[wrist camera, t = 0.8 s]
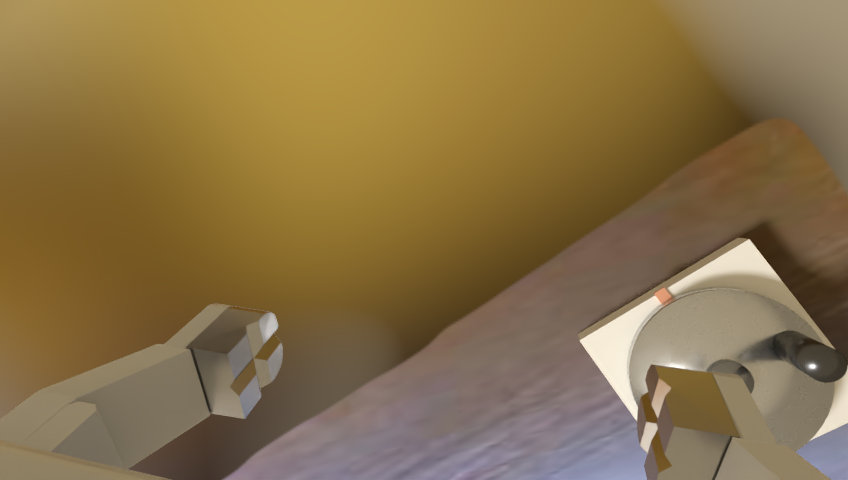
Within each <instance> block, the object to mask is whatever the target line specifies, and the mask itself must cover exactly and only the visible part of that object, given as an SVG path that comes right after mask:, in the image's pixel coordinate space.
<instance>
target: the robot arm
mask: <svg viewBox="0 0 848 480" xmlns="http://www.w3.org/2000/svg"><path fill="white" fill-rule="evenodd" d="M277 328H278V324H277V320H276V316H275V315H274V314H273V313H271V312H267V311H261V310H254V309H249V308H243V307H236V306H228V305H222V304H212V305H208V306H207V307H206V308H205V309H204V310H203V311H202V312H200V313H199V314H198V315H197V316H196V317H195V318H194V319H193V320H191V321H190V322H189V323H188V324H187V325H186V326H184V328H182V329H181V330H180V331H179V332H178V333H177V334H175V335H174V336H173V337H172V338H171V339H170V340H169V341H167V342H166V343H165V344H164V345H162V344H156V345H154V346H151V347H149V348H146V349H144V350H141V351H139V352H136V353H133V354H131V355H128V356H126V357H123V358H121V359H118V360H115V361H113V362H110V363H108V364H105V365H103V366H100V367H98V368H95V369H93V370H90V371H87V372H85V373H82V374H80V375H77V376H75V377H72V378H70V379H67V380H64V381H62V382H59V383H57V384H54V385H52V386H49V387H47V388H44V389H41V390H39V391H37V392H36V393H35V394H33V395H32V396H31V397H29V398H28V399H27V400H25V401H24V402H23V403H21V404H20V405H19V406H18V407H16V408H15V409H13V410H12V411H11V412H9V413H8V414H7V415H6V416H4V417H3V418H2V419H0V480H171V479H166V478H162V477H157V476H153V475H149V474H144V473H141V472H136V471H132V470H128V469H129V468H130V467H132V466H133V465H135V464H136V463H137V462H139V461H141V460H142V459H144V458H145V457H147V456H148V455H150V454H151V453H153V452H155V451H156V450H158V449H159V448H161V447H162V446H164V445H165V444H167V443H168V442H170V441H171V440H173V439H175V438H176V437H178V436H179V435H181V434H182V433H184V432H185V431H187V430H188V429H190V428H191V427H193V426H194V425H196V424H197V423H199V422H201V421H202V420H204V419H205V418H207V417H208V416H210V413H212V414H218V415H224V416H230V417H237V418H243V419H245V418H246V416H247V415H248V413H249V412H250V411H251V409H252V408H253V407H254V405H255V404H256V403H257V402H258V400H259V399H260V397H261V390H260V388H261V387H263V386H265V385H267V384H269V383H271V382H272V381H273V379H274V378H275V377H276V375H277V374H278V371H279V369H280V366H281V363H282V356H283V355H282V354H283V349H282V344H281V342H280V340H279V339H278V338H277V337H276V336H275V335H274V333H275V331H276V330H277ZM645 381H646V385H647V389H648V392H647V393H646V394H644V395H643V396H641V398H640V402H639V407H638V414H637V430H638V438H639V443H640V446H641V447H642V448H643V449H644V450H645V451H646V452H647V458H646V461H645V465H644V467H645V471H646V476H647V480H831V479H829V478H828V477H827V476H825V475H824V474H823V473H822V472H820V471H819V470H818V469H816V468H815V467H814V466H812V465H811V464H810V463H809V462H807V461H806V460H805V459H803V458H802V457H801V456H799V455H798V454H797V453H796V452H794V451H793V450H792V449H790V448H789V447H788V446H783V445H778V444H777V442H776V440H775V438H774V437H773V435H772V433H771V431H770V429H769V427H768V425H767V423H766V422H765V420H764V418H763V416H762V414H761V412H760V410H759V409H758V407H757V405H756V403H755V401H754V399H753V397H752V395H751V394H750V392H749V390H748V388H747V386H746V384H745V382H744V381H743V379H742V378H741V377H740V376H739V375H737V374H728V373H720V372H711V371H708V372H705V371H698V370H690V369H682V368H675V367H667V366H660V365H652V364H651V366H650V367H649V369H648V372H647V375H646V379H645Z"/></svg>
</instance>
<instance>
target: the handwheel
mask: <svg viewBox="0 0 848 480" xmlns="http://www.w3.org/2000/svg"><path fill="white" fill-rule="evenodd" d="M651 364H652V365H660V366H667V367H675V368H682V369H690V370H698V371H705V372H708V371H711V372H720V373H728V374H737V375H739V376H740V377H741V378H742V379H743V381H744V382H745V384H746V386H747V388H748V390H749V392H750V394H751V395H752V397H753V399H754V401H755V403H756V405H757V407H758V409H759V410H760V412H761V414H762V416H763V418H764V420H765V422H766V423H767V425H768V427H769V429H770V431H771V433H772V435H773V437H774V438H775V440H776V442H777V444H778V445H783V446H788V447H789V448H790V449H792V450H793V451H794V452H796V451H797V450H798V449H800V448H801V447H803V446H804V445H805V444H807V443H808V442H809V441H810V440H811V439H812V438H813V437H814V436H815V435H816V433H817V432H818V431H819V429H820V428H821V427H822V425H823V424H824V422H825V420H826V418H827V416H828V414H829V411H830V408H831V406H832V403H833V397H834V391H835V381H837V380H839V379H841V378H842V377H843V376H844V375H845V373H846V371H847V367H848V365H847V360H846V358H845V357H844V356H843V354H842V353H840V352H839V351H837V350H835V349H833V348H831V347H829V346H827V345H825V344H824V343H823V341H822V340H821V339H820V337H819V336H818V334H817V333H816V331H815V330H814V329H813V328H812V327H811V326H810V325H809V323H808V322H807V321H805V320H804V319H803V318H802V317H801V316H800V315H798V314H797V313H796V312H794V311H793V310H791V309H790V308H788V307H787V306H785V305H783V304H781V303H779V302H777V301H775V300H773V299H771V298H768V297H765V296H763V295H760V294H757V293H754V292H752V291H747V290H743V289H739V288H731V287H708V288H700V289H695V290H691V291H687V292H685V293H682V294H679V295H677V296H675V297H673V298H671V299H669V300H667V301H665V302H664V303H662V304H661V305H659V306H658V307H657V308H655V309H654V310H653V311H652V312H651V313H650V314H649V315H648V316H647V317H646V318H645V319H644V321H643V322H642V323H641V325H640V326H639V328H638V329H637V331H636V333H635V335H634V337H633V339H632V342H631V345H630V348H629V352H628V359H627V375H628V382H629V386H630V389H631V393H632V395H633V397H634V400H635V402H636V404H637V406H638V407H639V402H640V398H641V396H643V395H644V394H646V393H647V392H648V389H647V385H646V381H645V379H646V375H647V372H648V369H649V367H650V366H651Z"/></svg>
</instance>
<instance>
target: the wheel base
mask: <svg viewBox="0 0 848 480" xmlns="http://www.w3.org/2000/svg"><path fill="white" fill-rule="evenodd" d="M708 287H731V288H739V289H743V290H747V291H752V292H754V293H757V294H760V295H763V296H765V297H768V298H771V299H773V300H775V301H777V302H779V303H781V304H783V305H785V306H787V307H788V308H790V309H791V310H793V311H794V312H796V313H797V314H798V315H800V316H801V317H802V318H803V319H804V320H805V321H807V322H808V323H809V325H810V326H811V327H812V328H813V329H814V330H815V331H816V333H817V334H818V336H819V337H820V339H821V340H822V341H823V343H824V344H825V345H827V346H829V347H831V348H833V349H835V348H834V347H833V346H832V344H831V343H830V342H829V341H828V339H827V338H826V337H825V335H824V334H823V333H822V332H821V330H820V329H819V328H818V326H817V325H816V324H815V323H814V321H813V320H812V319H811V317H810V316H809V315H808V314H807V312H806V311H805V310H804V308H803V307H802V306H801V305H800V303H799V302H798V301H797V300H796V298H795V297H794V296H793V294H792V293H791V292H790V291H789V289H788V288H787V287H786V285H785V284H784V283H783V282H782V280H781V279H780V278H779V276H778V275H777V274H776V273H775V271H774V270H773V269H772V267H771V266H770V265H769V264H768V262H767V261H766V260H765V258H764V257H763V256H762V255H761V253H760V252H759V251H758V250H757V248H756V247H755V246H754V244H753V243H752V242H751V241H750V239H745V238H736V239H735V240H733V241H731V242H730V243H728V244H726V245H725V246H723V247H721V248H720V249H718V250H716V251H715V252H713V253H711V254H710V255H708V256H706V257H705V258H703V259H701V260H700V261H698V262H696V263H695V264H693V265H692V266H690V267H688V268H687V269H685V270H683V271H682V272H680V273H678V274H677V275H675V276H673V277H672V278H670V279H668V280H667V281H665V282H663V283H662V284H660V285H658V286H657V287H655V288H653V289H652V290H650V291H648V292H647V293H645V294H643V295H642V296H640V297H638V298H637V299H635V300H633V301H632V302H630V303H628V304H627V305H625V306H623V307H622V308H620V309H618V310H617V311H615V312H613V313H612V314H610V315H608V316H607V317H605V318H603V319H602V320H600V321H599V322H597V323H595V324H594V325H592V326H590V327H589V328H587V329H585V330H584V331H582V332H580V333H579V334H578V336H579V341H580V342H581V343H582V345H583V346H584V348H585V349H586V350H587V352H588V353H589V355H590V356H591V357H592V359H593V360H594V362H595V363H596V364H597V366H598V367H599V369H600V370H601V371H602V373H603V374H604V376H605V377H606V378H607V380H608V381H609V383H610V384H611V386H612V387H613V388H614V390H615V391H616V393H617V394H618V395H619V397H620V398H621V400H622V401H623V402H624V404H625V405H626V407H627V408H628V409H629V411H630V412H631V414H632V415H633V416H634V418H635V419H636V421H637V414H638V406H637V404H636V402H635V400H634V397H633V395H632V393H631V389H630V386H629V382H628V375H627V359H628V352H629V348H630V345H631V342H632V339H633V337H634V335H635V333H636V331H637V329H638V328H639V326H640V325H641V323H642V322H643V321H644V319H645V318H646V317H647V316H648V315H649V314H650V313H651V312H652V311H653V310H654V309H655V308H657V307H658V306H659V305H661V304H662V303H664V302H665V301H667V300H669V299H671V298H673V297H675V296H677V295H679V294H682V293H685V292H687V291H691V290H695V289H700V288H708ZM846 423H848V367H847V371H846V373H845V375H844V376H843V377H842V378H841V379H839V380H837V381H835V391H834V397H833V403H832V406H831V408H830V411H829V414H828V416H827V418H826V420H825V422H824V424H823V425H822V427H821V428H820V429H819V431H818V432H817V433H816V435H815V436H814V437H813V438H812V439H814V438H816V437H819V436H821V435H823V434H825V433H827V432H829V431H831V430H833V429H836V428H838V427H840V426H842V425H844V424H846ZM812 439H811V440H812Z"/></svg>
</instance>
